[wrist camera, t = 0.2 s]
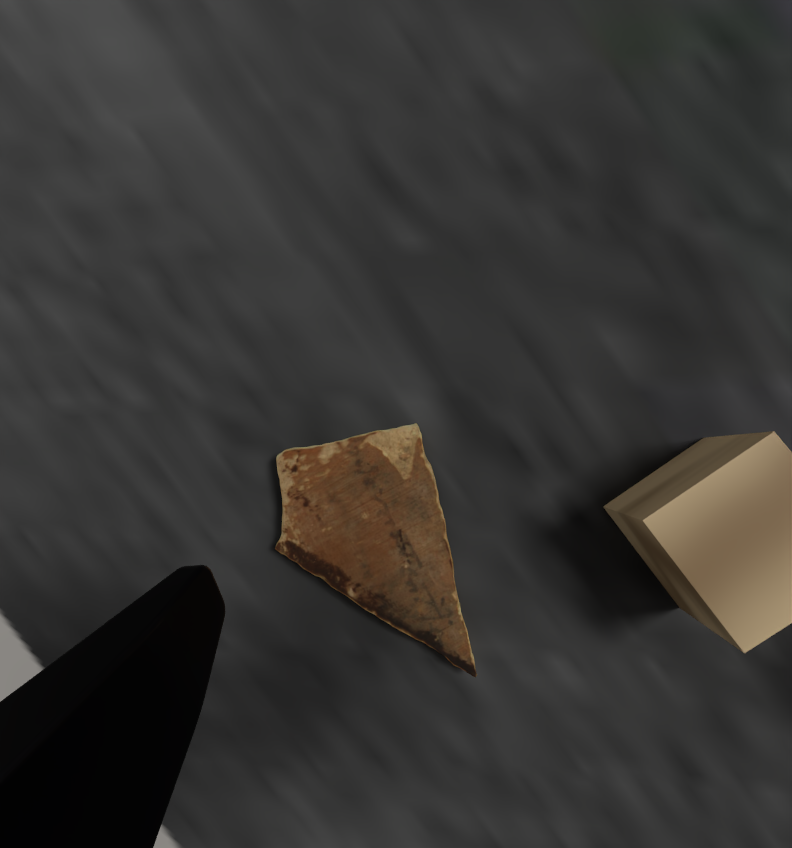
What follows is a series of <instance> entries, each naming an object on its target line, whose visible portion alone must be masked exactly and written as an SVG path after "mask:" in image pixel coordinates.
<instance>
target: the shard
mask: <svg viewBox="0 0 792 848" xmlns="http://www.w3.org/2000/svg"><path fill="white" fill-rule="evenodd" d="M276 462H277V471H278V476H279V479H280V487H281V495H282V506H283V514H282V534H281V537H280V539H279V541H278V542H277V544H276V547H275V549H276V550H277V551H278V552H279V553H281V554H283V555H286V556H287V557H288V558H289V559H291V560H292V561H295V562H297V563H298V564H299V565H300V566H301V567H302V568H303V569H305V570H307V571H308V572H310V573H311V574H313V575H315V576H318V577H320V578H322V579H324V580H325V581H326V582H327V583H328V584H329V585H330V586H331V587H332V588H334V589H336V590H337V591H339V592H341V593H343V594H344V595H346V596H347V597H349V598H350V599H351V600H353V601H354V602H355V603H357V604H358V605H359V606H361V607H362V608H364V609H365V610H367V611H368V612H370V613H372V614H375V615H376V616H377V617H378V618H379V619H381V620H383V621H385V622H387V623H388V624H390V625H391V626H393V627H395V628H397V629H398V630H400V631H401V632H403V633H405V634H407V635H409V636H411V637H413V638H414V639H416V640H419V641H421V642H424V643H425V644H427V645H428V646H430V647H431V648H433V649H435V650H436V651H437V652H438V653H440V654H442V655H443V656H445V657H446V658H447V659H448V661H450V662H451V663H452V664H453V665H454V666H456V667H458V668H460V669H462V670H464V671H466V672H467V673H469V674H470V675H472V676H474V677H476V676H477V674H476V670H475V663H474V656H473V654H472V651H471V646H470V641H469V637H468V632H467V628H466V626H465V623H464V620H463V617H462V614H461V608H460V604H459V600H458V596H457V592H456V586H455V580H454V569H453V560H452V556H451V551H450V546H449V543H448V540H447V535H446V524H445V519H444V516H443V510H442V508H441V506H440V502H439V495H438V490H437V486H436V480H435V477H434V474H433V470H432V467H431V464H430V463H429V462H428V460H427V458H426V456H425V453H424V449H423V444H422V434H421V432H420V431H419V427H418V425H417V424H416V423H415V424H412V425H406V426H401V427H399V428H393V429H389V430H378V431H374V432H370V433H367V434H362V435H357V436H353V437H350V438H347V439H344V440H340V441H336V442H332V443H327V444H323V445H316V446H310V447H300V448H299V447H295V448H291V449H287V450H284V451H283V452H282V453H280V454H279V455H277V458H276Z"/></svg>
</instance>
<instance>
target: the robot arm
mask: <svg viewBox="0 0 792 848" xmlns="http://www.w3.org/2000/svg"><path fill="white" fill-rule="evenodd" d="M224 617H225V604H224V600H223V598H222V595H221V593H220V591H219V588H218V586H217V583H216V581H215V579H214V576H213V574H212V572H211V570H210V569H209V568H208V567H207V566H204V565H196V566H184V567H181V568H179V569H177V570H176V571H175V572H173V573H172V574H171V575H169V576H168V577H166V578H165V579H164V580H162V581H161V582H160V583H158V584H157V585H156V586H154V587H153V588H152V589H150V590H149V591H148V592H146V593H145V594H144V595H142V596H141V597H140V598H138V599H137V600H136V601H134V602H133V603H132V604H130V605H129V606H128V607H126V608H125V609H124V610H122V611H121V612H120V613H118V614H117V615H116V616H114V617H113V618H112V619H110V620H109V621H108V622H106V623H105V624H104V625H102V626H101V627H100V628H98V629H97V630H96V631H94V632H93V633H92V634H90V635H89V636H88V637H86V638H85V639H84V640H82V641H81V642H80V643H78V644H77V645H76V646H74V647H73V648H72V649H70V650H69V651H68V652H66V653H65V654H64V655H62V656H61V657H60V658H58V659H57V660H56V661H54V662H53V663H52V664H50V665H49V666H48V667H46V668H45V669H44V670H42V671H41V672H40V673H38V674H37V675H36V676H34V677H33V678H32V679H30V680H29V681H28V682H26V683H25V684H24V685H22V686H21V687H20V688H18V689H17V690H16V691H14V692H13V693H11V694H10V695H9V696H7V697H6V698H5V699H3V700H2V701H1V702H0V848H153V846H154V843H155V841H156V838H157V835H158V832H159V829H160V826H161V824H162V821H163V818H164V815H165V812H166V810H167V807H168V804H169V801H170V798H171V795H172V793H173V790H174V787H175V784H176V781H177V778H178V776H179V773H180V770H181V767H182V764H183V761H184V759H185V756H186V753H187V750H188V747H189V745H190V742H191V739H192V736H193V733H194V730H195V727H196V724H197V721H198V718H199V715H200V712H201V709H202V705H203V701H204V698H205V694H206V690H207V686H208V682H209V678H210V674H211V670H212V666H213V662H214V658H215V654H216V650H217V646H218V642H219V638H220V634H221V629H222V625H223V621H224Z"/></svg>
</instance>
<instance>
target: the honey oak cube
mask: <svg viewBox="0 0 792 848" xmlns="http://www.w3.org/2000/svg"><path fill="white" fill-rule="evenodd" d="M603 507H604V509H605V510H606V511H607V513H608V514H609V515H610V517H611V518H612V519H613V521H614V522H615V523H616V525H617V526H618V527H619V528H620V530H621V531H622V532H623V534H624V535H625V536H626V538H627V539H628V540H629V542H630V543H631V544H632V546H633V547H634V548H635V550H636V551H637V552H638V554H639V555H640V556H641V558H642V559H643V560H644V561H645V563H646V564H647V565H648V567H649V568H650V569H651V571H652V572H653V573H654V575H655V576H656V577H657V579H658V580H659V581H660V583H661V584H662V585H663V587H664V588H665V589H666V590H667V592H668V593H669V594H670V596H671V597H672V598H673V600H674V601H675V602H676V604H677V605H678V606H679V608H681V609H682V610H684V611H685V612H686V613H688V614H689V615H691V616H692V617H693V618H695V619H696V620H698V621H699V622H701V623H702V624H703V625H705V626H706V627H708V628H709V629H711V630H712V631H713V632H715V633H716V634H718V635H719V636H721V637H722V638H723V639H725V640H726V641H728V642H729V643H731V644H732V645H733V646H735V647H736V648H738V649H739V650H741V651H742V652H743V653H746V652H747V651H749V650H750V649H752V648H754V647H755V646H757V645H758V644H760V643H761V642H763V641H764V640H766V639H768V638H769V637H771V636H772V635H774V634H775V633H777V632H778V631H780V630H782V629H783V628H785V627H786V626H788V625H789V624H791V623H792V452H791V451H790V450H789V449H788V447H787V446H786V445H785V444H784V443H783V441H782V440H781V439H780V438H779V437H778V435H777V434H776V433H775V432H774V431H773V432H762V433H751V434H740V435H730V436H719V437H708V438H703V439H701V440H700V441H698V442H697V443H695V444H694V445H692V446H691V447H689V448H688V449H686V450H685V451H684V452H682V453H681V454H679V455H678V456H676V457H675V458H673V459H672V460H670V461H669V462H667V463H666V464H665V465H663V466H662V467H660V468H659V469H657V470H656V471H654V472H653V473H651V474H650V475H648V476H647V477H646V478H644V479H643V480H641V481H640V482H638V483H637V484H635V485H634V486H632V487H631V488H629V489H628V490H626V491H625V492H624V493H622V494H621V495H619V496H618V497H616V498H615V499H613V500H612V501H610V502H609V503H607V504H606V505H605V506H603Z"/></svg>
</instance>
